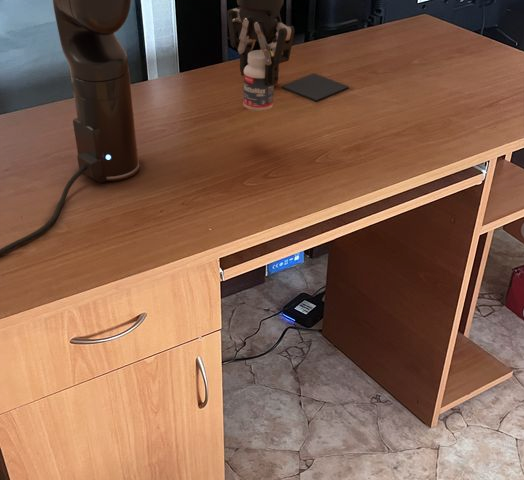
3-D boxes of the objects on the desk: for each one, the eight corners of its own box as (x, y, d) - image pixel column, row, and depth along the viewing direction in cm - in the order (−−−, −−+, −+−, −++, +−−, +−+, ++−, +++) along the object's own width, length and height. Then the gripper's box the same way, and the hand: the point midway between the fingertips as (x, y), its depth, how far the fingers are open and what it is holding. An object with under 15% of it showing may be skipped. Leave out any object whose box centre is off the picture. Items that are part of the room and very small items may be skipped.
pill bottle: (238, 108, 136) (238, 56, 130) (249, 97, 140) (250, 46, 134) (267, 113, 135) (268, 61, 129) (277, 102, 138) (279, 51, 133)
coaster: (316, 101, 159) (316, 99, 159) (281, 87, 164) (281, 85, 164) (348, 88, 164) (348, 86, 164) (313, 75, 170) (313, 73, 170)
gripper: (212, -32, 125) (214, 73, 136) (275, -12, 118) (272, 98, 128) (247, -40, 130) (246, 63, 140) (310, -21, 122) (304, 87, 133)
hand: (258, 79), depth 134 cm, fingers closed on pill bottle, 5 cm apart
